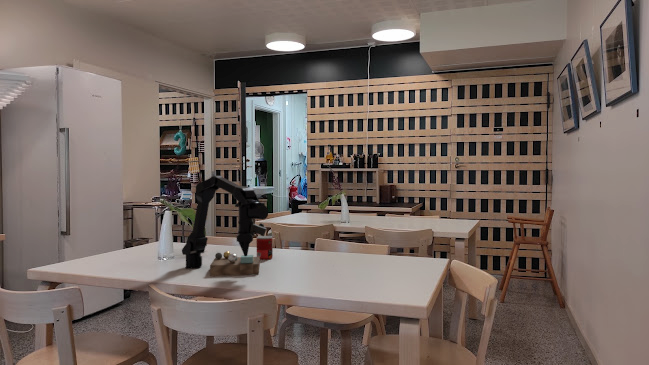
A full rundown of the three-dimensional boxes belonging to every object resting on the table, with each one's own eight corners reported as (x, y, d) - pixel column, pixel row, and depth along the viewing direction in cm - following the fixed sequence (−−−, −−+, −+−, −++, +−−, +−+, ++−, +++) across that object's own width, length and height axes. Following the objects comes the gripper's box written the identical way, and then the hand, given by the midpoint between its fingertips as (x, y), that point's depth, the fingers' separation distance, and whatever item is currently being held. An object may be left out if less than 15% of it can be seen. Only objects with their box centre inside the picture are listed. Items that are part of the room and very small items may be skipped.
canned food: (271, 260, 229) (271, 237, 229) (255, 260, 230) (255, 237, 229) (273, 257, 237) (273, 235, 237) (257, 257, 237) (257, 235, 237)
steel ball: (227, 264, 196) (227, 254, 196) (228, 262, 200) (228, 253, 200) (237, 263, 196) (237, 254, 196) (237, 262, 200) (237, 252, 200)
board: (210, 275, 193) (210, 265, 193) (215, 267, 211) (215, 257, 211) (258, 274, 195) (258, 264, 195) (259, 266, 213) (259, 256, 213)
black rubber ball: (214, 260, 205) (214, 253, 205) (215, 258, 208) (215, 252, 208) (221, 259, 206) (221, 253, 206) (222, 258, 209) (222, 251, 209)
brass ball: (223, 259, 207) (222, 252, 207) (223, 258, 210) (223, 250, 210) (230, 259, 208) (230, 251, 208) (230, 257, 211) (230, 250, 211)
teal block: (240, 263, 196) (240, 257, 196) (241, 261, 201) (241, 255, 201) (252, 262, 196) (252, 257, 196) (253, 260, 201) (253, 255, 201)
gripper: (265, 220, 183) (265, 259, 183) (265, 216, 201) (265, 251, 201) (236, 220, 181) (236, 260, 182) (239, 216, 200) (239, 252, 200)
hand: (245, 256), depth 191 cm, fingers closed
